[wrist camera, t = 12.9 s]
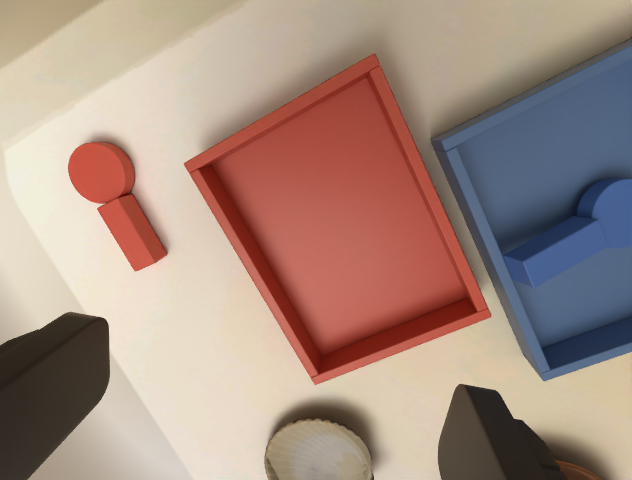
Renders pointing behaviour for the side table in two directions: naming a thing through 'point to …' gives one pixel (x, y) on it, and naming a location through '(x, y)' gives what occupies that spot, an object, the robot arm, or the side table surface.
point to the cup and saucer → (576, 472)
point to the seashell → (317, 452)
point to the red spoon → (115, 199)
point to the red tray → (341, 225)
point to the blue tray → (551, 205)
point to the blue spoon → (577, 234)
